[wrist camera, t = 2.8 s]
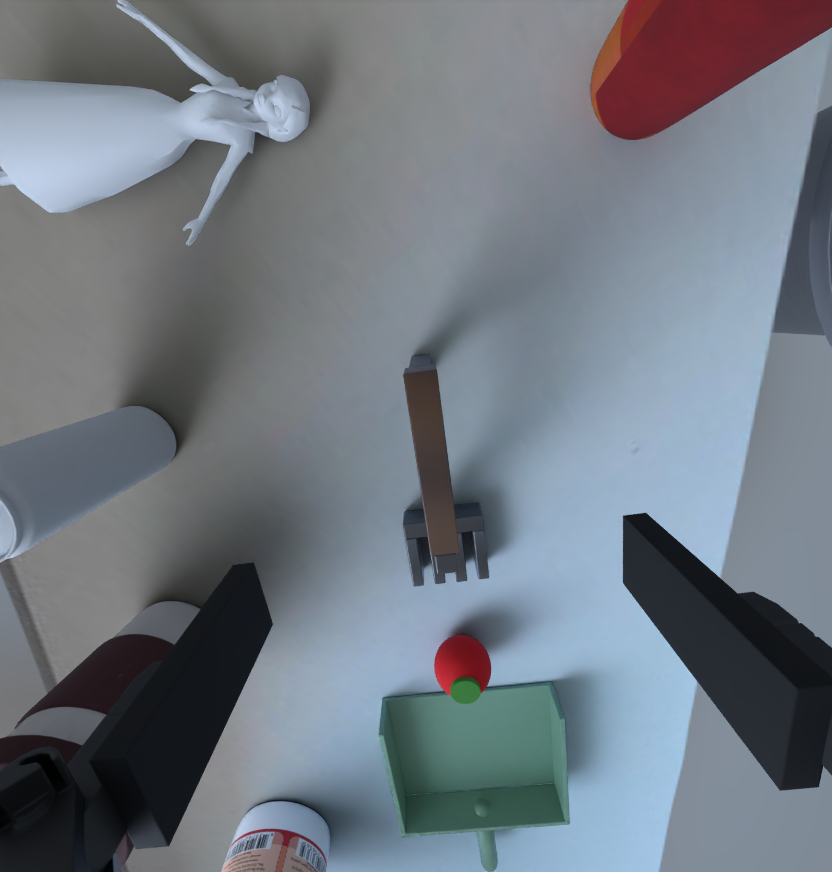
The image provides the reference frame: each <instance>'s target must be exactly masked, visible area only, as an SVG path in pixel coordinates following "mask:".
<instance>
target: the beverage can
mask: <svg viewBox="0 0 832 872" xmlns="http://www.w3.org/2000/svg"><path fill="white" fill-rule="evenodd" d="M175 453H176V439H175V435H174V433H173V430H172V428H171V427H170V426H169V425H168V423H167V422H166V421H165V420H164V419H163V418H162V417H161V416H160V415H158V414H157V413H155V412H154V411H152V410H150V409H148V408H144V407H141V406H128V407H124V408H121V409H118V410H114V411H111V412H108V413H105V414H102V415H99V416H96V417H93V418H89V419H86V420H83V421H80V422H77V423H74V424H71V425H67V426H64V427H61V428H58V429H55V430H52V431H49V432H46V433H42V434H39V435H36V436H33V437H30V438H27V439H24V440H20V441H17V442H14V443H11V444H8V445H5V446H2V447H0V562H2V561H4V560H5V559H9V558H13V557H15V556H17V555H19V554H21V553H23V552H25V551H26V550H28V549H30V548H32V547H33V546H35V545H37V544H38V543H40V542H42V541H43V540H45V539H46V538H48V537H50V536H51V535H53V534H55V533H56V532H58V531H60V530H61V529H63V528H65V527H66V526H68V525H70V524H71V523H73V522H75V521H76V520H78V519H80V518H81V517H83V516H85V515H86V514H88V513H89V512H91V511H93V510H94V509H96V508H98V507H99V506H101V505H103V504H104V503H106V502H108V501H109V500H111V499H113V498H114V497H116V496H118V495H119V494H121V493H123V492H124V491H126V490H128V489H129V488H131V487H132V486H134V485H136V484H137V483H139V482H141V481H142V480H144V479H146V478H147V477H149V476H151V475H152V474H154V473H156V472H157V471H159V470H161V469H162V468H164V467H166V466H167V465H168V464H169V463H170V462H171V461H172V459H173V457H174V455H175Z"/></svg>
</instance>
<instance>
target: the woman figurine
mask: <svg viewBox="0 0 832 872" xmlns="http://www.w3.org/2000/svg"><path fill="white" fill-rule="evenodd" d="M118 2H119V3H121V4H123V5H125V6H126V7H121V6H119V5H118V4H116V6H117V7H118V8H119V9H121V10H122V11H124V12H125V13H127V14H128V15H130V16H131V17H133V18H134V19H137V20H138V21H139V22H141V23H142V24H144V25H145V26H146V27H147V28H149V29H150V30H151V31H152V32H153V33H154V34H156V35H157V36H158V37H159V38H160V39H161V40H163V41H164V42H165V43H166V44H167V45H168V46H170V47H171V49H172V50H173V51H174V52H175V53H176V55H177V56H178V57H179V58H180V59H181V60H182V61H183V62H184V63H185V64H186V65H187V66H188V67H189V68H191V69H192V70H194V71H195V72H197V73H198V74H199V75H201V76H202V77H204V78H205V79H206V80H207V81H208V82H209V83H210V84H211V85H212V86H208V85H205V84H203V83H201V84H199V85H196V86H194V87H192V88H191V89H190V91H194V92H197V93H196V94H194V95H193V96H191V97H190V98H188V99H187V100H185V101H183V102H182V103H180V102H178V101H176V100H174V99H172V98H171V97H168V96H166V95H164V94H162V93H159V92H157V91H155V90H151V89H144V88H138V87H130V86H114V85H97V84H81V83H64V82H46V81H29V80H12V79H0V166H1V167H2V169H3V170H4V171H0V186H7V185H11V184H12V185H16V187H17V188H18V189H19V190H20V191H21V192H22V193H24V194H25V195H26V196H28V197H29V198H30V199H32V200H33V201H34V202H36V203H37V204H38V205H40V206H41V207H42V208H44V209H45V210H46V211H48V212H49V213H58V212H70V211H72V210H75V209H78V208H80V207H83V206H86V205H88V204H91V203H94V202H96V201H99V200H102V199H105V198H107V197H110V196H113V195H115V194H117V193H119V192H121V191H123V190H125V189H127V188H129V187H131V186H133V185H135V184H137V183H139V182H141V181H142V180H144V179H146V178H148V177H150V176H152V175H154V174H156V173H158V172H160V171H162V170H164V169H166V168H168V167H170V166H171V165H172V164H174V163H175V162H176V161H178V160H179V159H180V158H182V156H183V155H184V153H185V152H186V150H187V148H188V147H189V145H190V144H191V143H192V142H193V141H195V140H196V139H199V140H207V141H215V142H219V143H222V144H228V145H231V147H230V150H229V153H228V155H227V158H226V160H225V162H224V164H223V165H222V167H221V169H220V170H219V172H218V174H217V176H216V178H215V180H214V182H213V185H212V187H211V190H210V195H209V197H208V199H207V201H206V203H205V205H204V207H203V209H202V211H201V213H200V215H199V217H198V218H197V219H194V220H191V221H190V222H189V223H188V224H187V225H186V226H185V227H184V228H183V231H185V230H187V229H188V228H191V230H192V233H191V235H190V237H189V239H188V240H187V242H186V244H188V246H190V245H191V244H192V243H193V242H194V241H195V240H196V238H197V237H198V236H199V234H200V232H201V230H202V228H203V226H204V224H205V223H206V221H207V219H208V217H209V216H210V214H211V212H212V211H213V209H214V207H215V205H216V204H217V202H218V200H219V199H220V198H221V196H222V195H223V193H224V192H225V190H226V188H227V186H228V183H229V181H230V179H231V177H232V176H233V174H234V172H235V170H236V169H237V167H238V166H239V164H240V163H241V161H242V160H243V159H244V157H245V156H246V155H247V153H248V152H249V153H251V154H253V148H254V140H255V132H258V133H260V134H262V135H264V136H266V137H269V138H272V139H274V140H276V141H278V142H287V141H290V140H292V139H294V138H296V137H297V136H298V135H299V134H301V133H302V132H303V131H304V130H305V129H306V128H307V127H308V122H309V115H310V101H309V98H308V95H307V93H306V91H305V89H304V87H303V85H302V84H301V83H300V82H299V81H298V80H296V79H294V78H291V77H288V76H285V75H280V76H277V77H276V80H274V82H269V83H265V84H263V85H261V87H260V88H259V89H258V91H256V90H247V89H246V88H244V87H239V85H238V84H237V82H236V81H235V79H234V78H231V77H228V78H227V77H226V76H224V75H223V74H221V73H220V72H218V71H217V70H215V69H213V68H212V67H211V66H209V65H208V64H207V63H205V62H204V61H203V60H202V59H200V58H199V57H198V56H196V55H195V54H194V53H193V52H191V51H190V50H189V49H188V48H186V47H185V46H184V45H182V44H181V43H180V42H178V41H177V40H175V39H174V38H173V37H172V36H170V35H169V34H168V33H166V32H165V31H164V30H163V29H161V28H160V27H159V26H158V25H156V24H155V23H154V22H152V21H151V20H150V19H149V18H147V17H146V16H145V15H144V14H142V13H141V12H140V11H139V10H138V9H136V8H135V7H134V6H133V5H131V4H130V3H129V2H128V1H126V0H118ZM248 100H249V101H251V102H249V101H248Z"/></svg>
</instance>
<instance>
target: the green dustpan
mask: <svg viewBox="0 0 832 872" xmlns="http://www.w3.org/2000/svg"><path fill="white" fill-rule="evenodd" d="M379 739H380V743H381V747H382V752H383V756H384V761H385V765H386V769H387V774H388V778H389V782H390V787H391V791H392V795H393V800H394V804H395V809H396V813H397V817H398V822H399V826H400V830H401V835H402V837H410V836H423V835H436V834H449V833H462V832H475V831H477V837H478V844H479V851H480V857H481V863H482V866H483V868H484V869H485V870H486V871H488V872H493V871H494V870H495V869H496V867H497V863H498V859H497V852H496V844H495V836H494V830H502V829H515V828H528V827H541V826H554V825H567V824H570V820H569V798H568V775H567V753H566V731H565V717H564V714H563V712H562V709H561V706H560V703H559V700H558V697H557V695H556V692H555V689H554V686H553V683H552V682H545V683H534V684H524V685H514V686H503V687H493V688H485V690H484V691H483V692H482V693H481V694H480V697H479V698H478V699H477V700H476V701H475V702H473V703H470V704H461V703H458V702H456V701H455V700H454V699H453V698H452V697H451V696H450V695H449V694H447V693H446V692H441V693H430V694H420V695H410V696H399V697H389V698H383V699H382V709H381V719H380V728H379ZM547 783H553V784H547ZM535 784H541V785H535ZM522 785H529V786H522ZM510 786H516V787H510ZM498 787H504V788H498ZM486 788H492V789H486ZM474 789H480V790H474ZM462 790H468V791H462ZM450 791H456V792H450ZM438 792H444V793H438ZM425 793H431V794H425ZM413 794H419V795H413Z"/></svg>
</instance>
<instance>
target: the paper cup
mask: <svg viewBox="0 0 832 872" xmlns="http://www.w3.org/2000/svg"><path fill="white" fill-rule="evenodd" d="M831 27H832V0H628V2H627V3H626V5H625V7H624V9H623V11H622V12H621V14H620V16H619V18H618V19H617V21H616V23H615V25H614V27H613V28H612V30H611V32H610V34H609V36H608V38H607V39H606V41H605V43H604V45H603V47H602V49H601V51H600V53H599V55H598V58H597V60H596V63H595V66H594V69H593V73H592V79H591V100H592V105H593V108H594V111H595V114H596V116H597V118H598V120H599V121H600V123H601V124H602V125H603V127H604V128H605V129H606V130H608V131H609V132H610V133H612V134H613V135H615V136H617V137H620V138H623V139H628V140H638V139H643V138H647V137H650V136H652V135H655V134H657V133H659V132H661V131H663V130H664V129H666V128H668V127H670V126H671V125H673V124H675V123H676V122H678V121H680V120H681V119H683V118H685V117H686V116H688V115H689V114H691V113H693V112H694V111H696V110H698V109H699V108H701V107H702V106H704V105H706V104H707V103H709V102H710V101H712V100H714V99H715V98H717V97H718V96H720V95H722V94H723V93H725V92H726V91H728V90H730V89H731V88H733V87H734V86H736V85H738V84H739V83H741V82H742V81H744V80H746V79H747V78H749V77H750V76H752V75H754V74H755V73H757V72H758V71H760V70H762V69H763V68H765V67H767V66H768V65H770V64H772V63H773V62H775V61H777V60H778V59H780V58H782V57H783V56H785V55H787V54H788V53H790V52H792V51H793V50H795V49H797V48H798V47H800V46H802V45H803V44H805V43H807V42H808V41H810V40H812V39H813V38H815V37H817V36H818V35H820V34H822V33H823V32H825V31H827V30H828V29H830V28H831Z"/></svg>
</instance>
